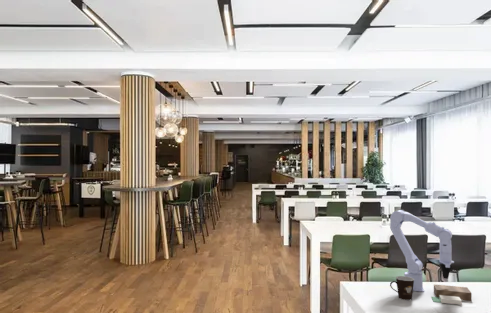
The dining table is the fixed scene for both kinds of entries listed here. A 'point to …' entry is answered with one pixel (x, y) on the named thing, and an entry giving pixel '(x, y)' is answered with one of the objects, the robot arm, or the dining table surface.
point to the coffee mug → (404, 287)
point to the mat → (436, 299)
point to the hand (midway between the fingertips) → (445, 278)
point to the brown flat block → (453, 291)
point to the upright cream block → (450, 299)
